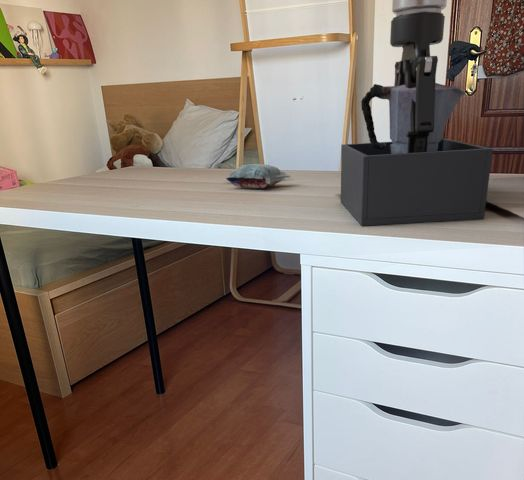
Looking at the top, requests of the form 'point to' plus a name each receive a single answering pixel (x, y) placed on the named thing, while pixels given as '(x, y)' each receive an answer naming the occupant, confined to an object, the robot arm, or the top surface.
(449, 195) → the tub
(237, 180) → the packaged food
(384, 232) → the top surface
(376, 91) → the moka pot
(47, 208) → the top surface
